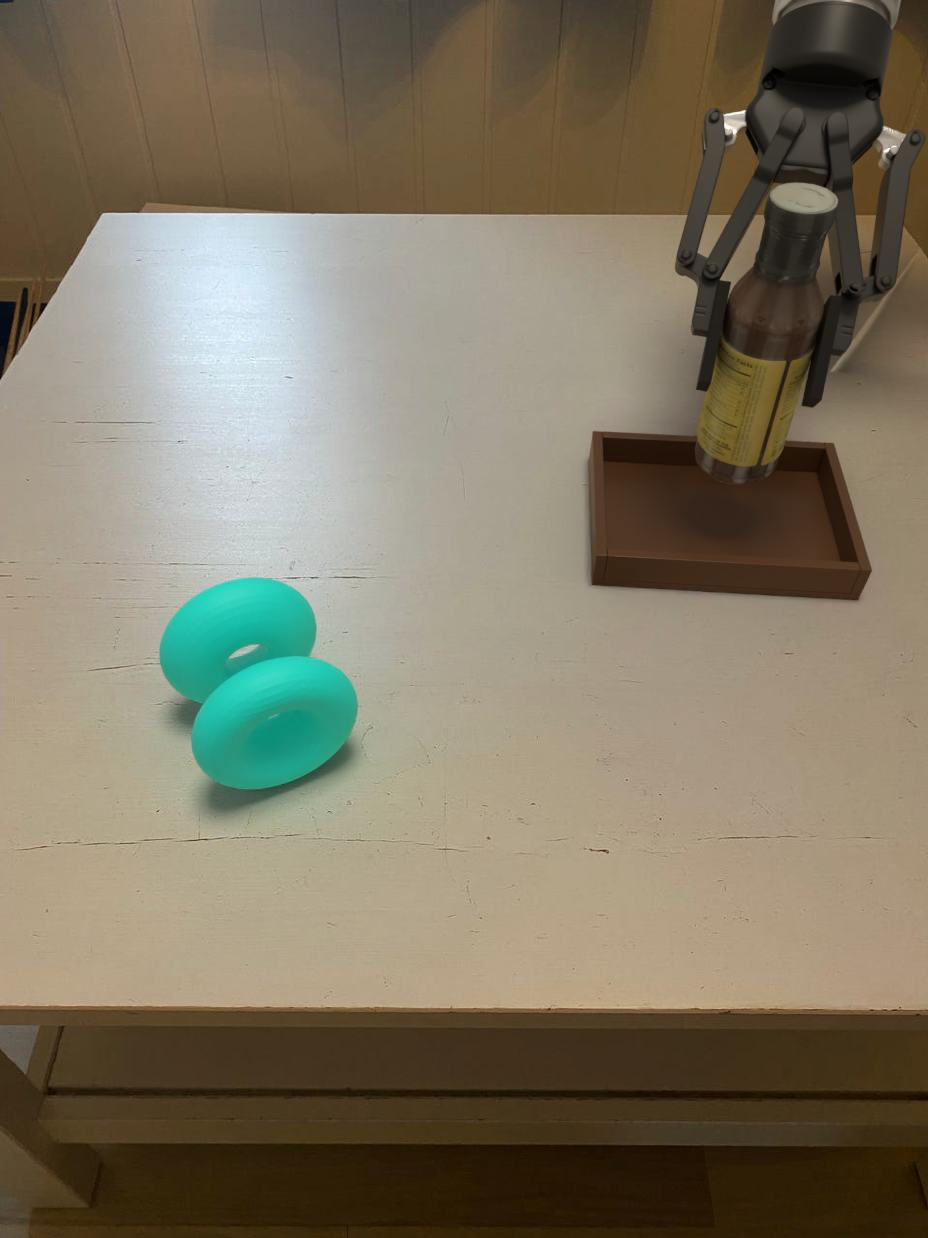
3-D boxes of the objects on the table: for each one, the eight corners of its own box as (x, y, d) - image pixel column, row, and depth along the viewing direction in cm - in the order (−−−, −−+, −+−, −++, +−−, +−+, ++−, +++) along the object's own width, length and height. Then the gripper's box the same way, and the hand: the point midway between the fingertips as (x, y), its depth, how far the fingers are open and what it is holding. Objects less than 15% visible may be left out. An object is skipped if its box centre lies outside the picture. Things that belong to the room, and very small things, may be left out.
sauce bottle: (755, 431, 72) (838, 167, 57) (789, 484, 68) (887, 215, 53) (676, 439, 72) (739, 174, 57) (705, 494, 68) (781, 223, 53)
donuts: (314, 650, 66) (297, 547, 58) (370, 758, 60) (358, 660, 53) (173, 701, 63) (136, 599, 55) (218, 821, 57) (182, 725, 50)
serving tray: (822, 472, 79) (834, 442, 77) (858, 600, 70) (872, 570, 67) (588, 460, 80) (592, 430, 78) (591, 584, 70) (596, 555, 68)
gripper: (969, 75, 62) (893, 427, 64) (675, 47, 65) (610, 384, 67) (1016, 8, 54) (929, 407, 56) (682, -21, 57) (609, 360, 59)
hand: (756, 394), depth 61 cm, fingers closed on sauce bottle, 6 cm apart
